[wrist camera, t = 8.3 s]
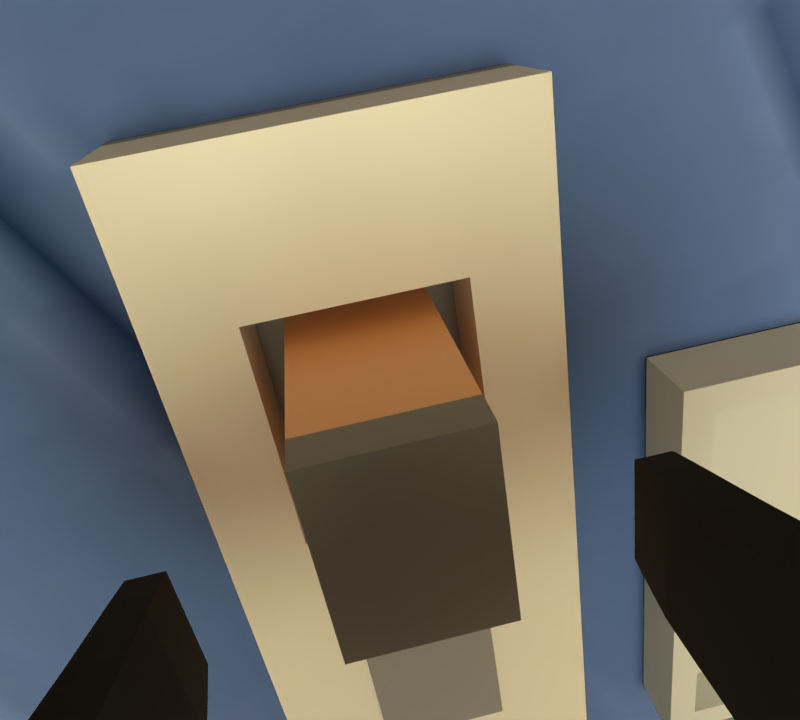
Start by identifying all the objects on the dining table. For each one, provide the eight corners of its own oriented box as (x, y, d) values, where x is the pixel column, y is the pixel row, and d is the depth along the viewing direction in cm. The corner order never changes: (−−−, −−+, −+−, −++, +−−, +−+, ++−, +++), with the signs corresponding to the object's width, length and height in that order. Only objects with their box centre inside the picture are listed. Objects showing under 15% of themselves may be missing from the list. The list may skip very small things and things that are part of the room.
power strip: (556, 658, 22) (588, 733, 19) (314, 719, 21) (318, 804, 19) (507, 63, 13) (553, 72, 11) (106, 142, 13) (68, 167, 11)
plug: (444, 427, 16) (521, 620, 11) (324, 456, 16) (345, 664, 11) (419, 277, 15) (497, 421, 9) (284, 306, 14) (284, 471, 9)
